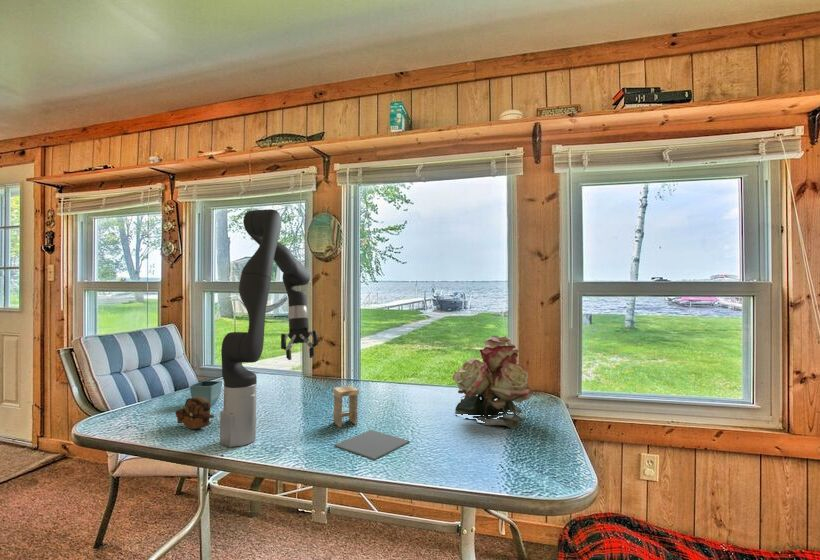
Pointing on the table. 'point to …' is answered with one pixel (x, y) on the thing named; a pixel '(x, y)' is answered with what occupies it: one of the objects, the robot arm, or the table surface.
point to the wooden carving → (195, 413)
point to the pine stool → (338, 395)
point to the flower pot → (207, 390)
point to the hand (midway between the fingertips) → (300, 358)
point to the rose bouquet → (493, 384)
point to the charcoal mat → (372, 444)
